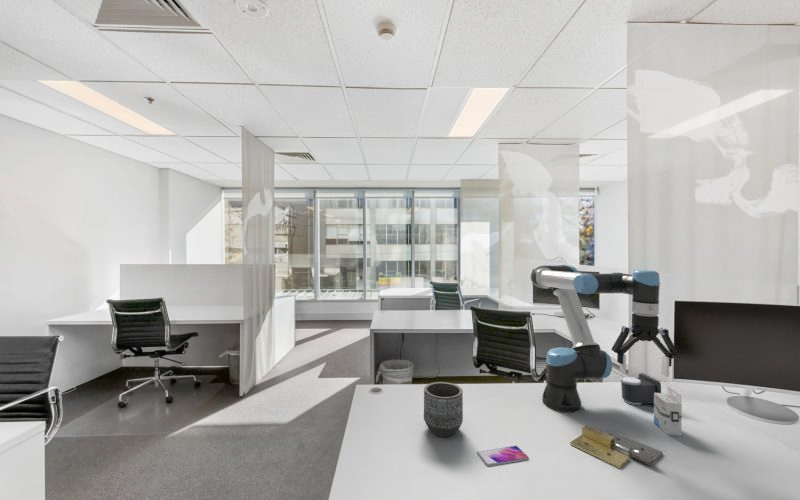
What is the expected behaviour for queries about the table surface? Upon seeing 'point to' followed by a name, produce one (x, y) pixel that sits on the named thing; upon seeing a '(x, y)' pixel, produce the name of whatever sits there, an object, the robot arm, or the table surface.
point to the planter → (443, 408)
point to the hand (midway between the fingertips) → (643, 373)
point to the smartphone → (502, 456)
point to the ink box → (668, 411)
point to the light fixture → (639, 389)
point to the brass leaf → (599, 446)
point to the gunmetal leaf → (636, 449)
